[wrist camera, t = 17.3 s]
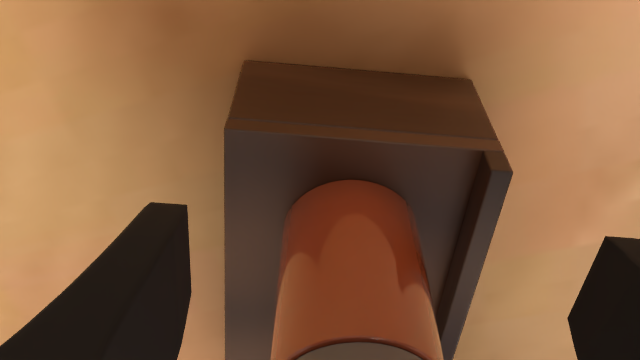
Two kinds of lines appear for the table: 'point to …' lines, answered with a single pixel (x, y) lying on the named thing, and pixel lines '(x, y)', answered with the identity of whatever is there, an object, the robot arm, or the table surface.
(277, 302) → the pepper shaker
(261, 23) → the table surface
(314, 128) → the shelf
